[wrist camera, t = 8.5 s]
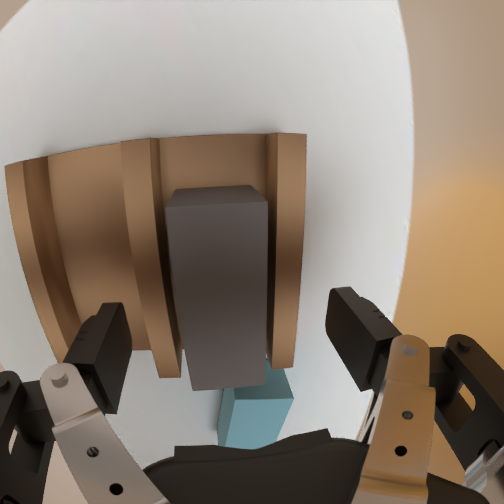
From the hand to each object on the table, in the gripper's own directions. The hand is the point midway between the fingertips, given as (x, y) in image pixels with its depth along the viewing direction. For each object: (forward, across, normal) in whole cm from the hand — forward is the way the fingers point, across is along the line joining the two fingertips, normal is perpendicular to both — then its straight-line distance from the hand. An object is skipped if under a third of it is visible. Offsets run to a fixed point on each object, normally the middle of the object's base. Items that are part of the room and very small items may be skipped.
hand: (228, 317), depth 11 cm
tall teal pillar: (+6, -1, +12) cm, 14 cm away
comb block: (+6, +3, -1) cm, 7 cm away
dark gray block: (+5, 0, 0) cm, 5 cm away
